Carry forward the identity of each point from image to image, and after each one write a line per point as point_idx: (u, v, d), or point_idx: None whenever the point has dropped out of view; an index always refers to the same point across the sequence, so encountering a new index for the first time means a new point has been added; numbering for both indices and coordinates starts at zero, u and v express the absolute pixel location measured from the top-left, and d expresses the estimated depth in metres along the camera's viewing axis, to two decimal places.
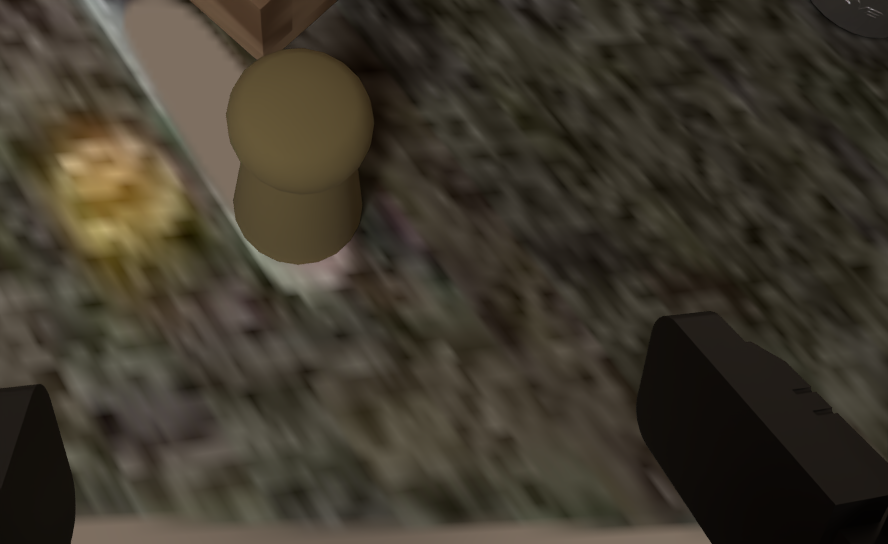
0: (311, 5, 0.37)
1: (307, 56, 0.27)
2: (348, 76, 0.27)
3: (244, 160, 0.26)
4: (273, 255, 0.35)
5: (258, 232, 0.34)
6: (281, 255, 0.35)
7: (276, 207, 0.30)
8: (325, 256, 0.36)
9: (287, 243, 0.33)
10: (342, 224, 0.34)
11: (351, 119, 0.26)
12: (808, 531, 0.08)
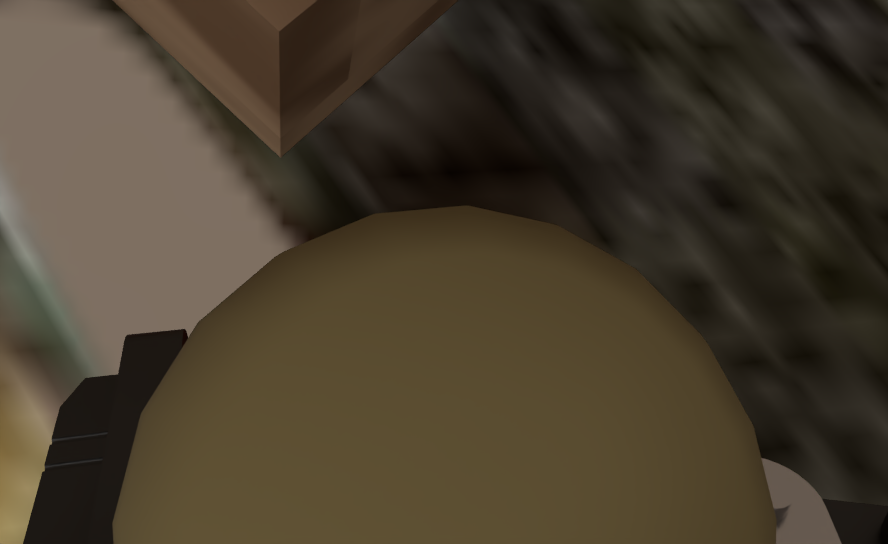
0: (394, 24, 0.16)
1: (512, 269, 0.05)
2: (696, 358, 0.06)
3: None
4: None
5: None
6: None
7: None
8: None
9: None
10: None
11: None
12: None
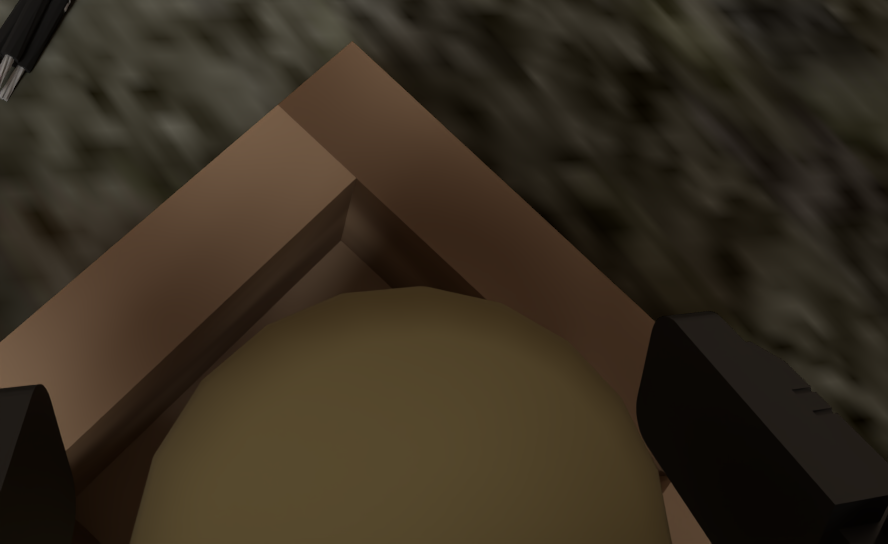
0: None
1: (457, 349, 0.07)
2: (608, 423, 0.07)
3: None
4: None
5: None
6: None
7: None
8: None
9: None
10: None
11: None
12: (808, 531, 0.08)
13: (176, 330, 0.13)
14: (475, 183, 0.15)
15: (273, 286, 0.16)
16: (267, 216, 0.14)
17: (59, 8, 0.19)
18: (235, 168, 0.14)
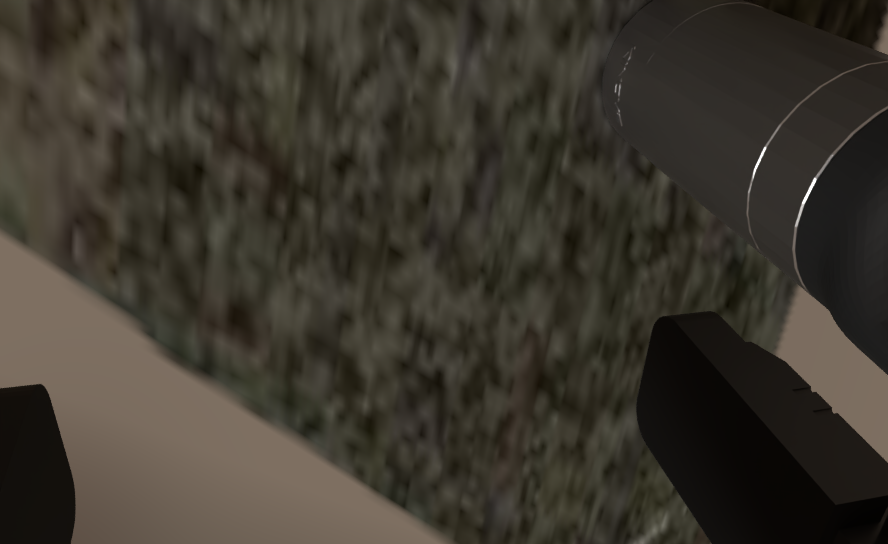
0: None
1: None
2: None
3: None
4: None
5: None
6: None
7: None
8: None
9: None
10: None
11: None
12: (808, 531, 0.08)
13: None
14: None
15: None
16: None
17: None
18: None
